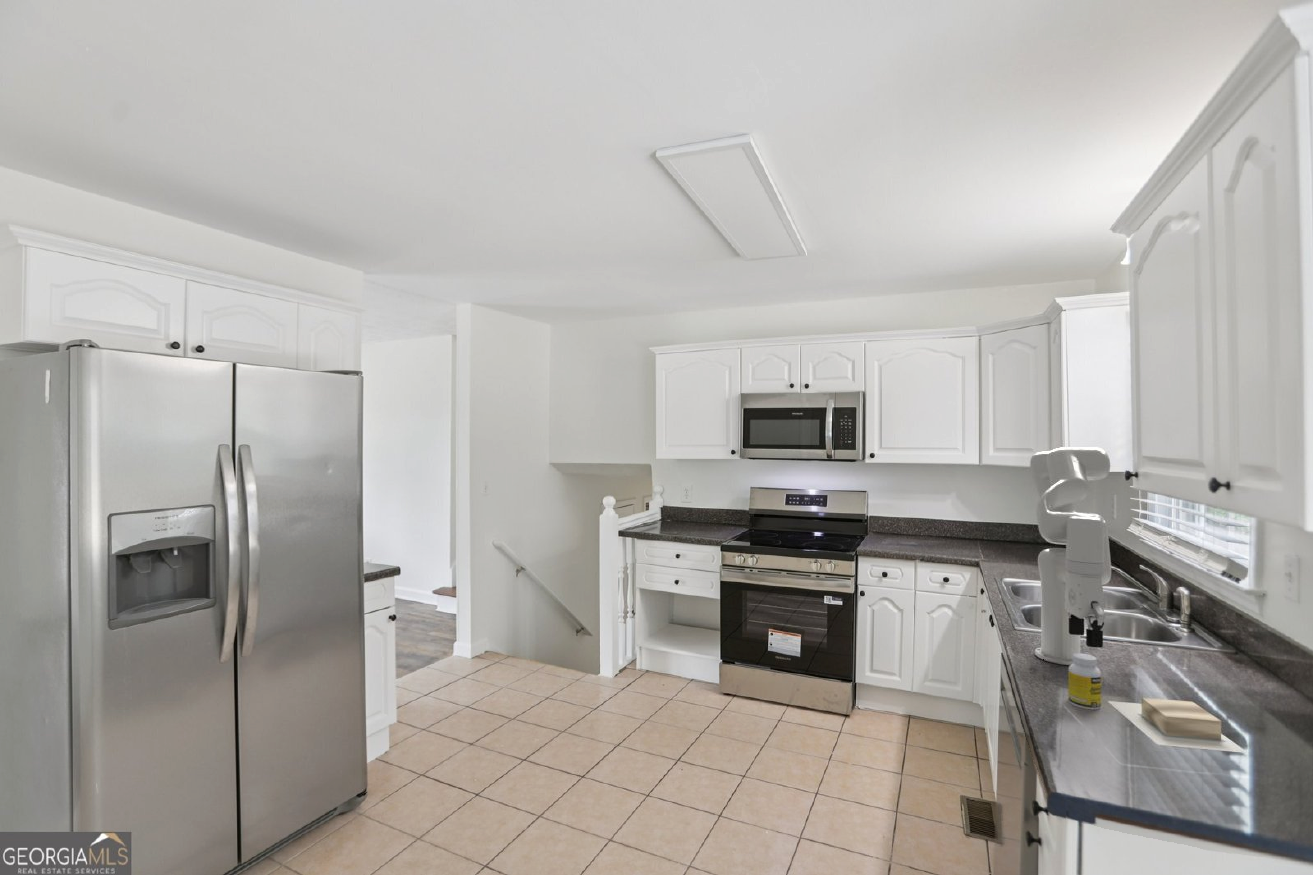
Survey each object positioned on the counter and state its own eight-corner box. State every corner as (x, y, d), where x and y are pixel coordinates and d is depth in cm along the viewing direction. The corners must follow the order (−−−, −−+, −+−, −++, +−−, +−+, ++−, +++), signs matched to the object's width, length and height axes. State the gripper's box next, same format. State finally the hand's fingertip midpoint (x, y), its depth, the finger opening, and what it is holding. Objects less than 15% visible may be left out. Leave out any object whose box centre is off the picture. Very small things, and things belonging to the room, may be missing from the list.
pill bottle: (1086, 712, 147) (1086, 662, 147) (1061, 701, 153) (1061, 653, 153) (1108, 709, 149) (1108, 659, 148) (1082, 698, 155) (1083, 650, 155)
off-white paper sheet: (1107, 702, 152) (1107, 700, 152) (1184, 708, 149) (1184, 707, 149) (1157, 746, 131) (1157, 744, 131) (1248, 754, 127) (1248, 753, 127)
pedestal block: (1141, 715, 145) (1141, 697, 145) (1192, 719, 142) (1192, 701, 142) (1166, 735, 135) (1166, 716, 135) (1221, 740, 133) (1221, 721, 133)
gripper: (1053, 561, 160) (1053, 629, 160) (1083, 574, 143) (1083, 650, 143) (1086, 562, 158) (1086, 631, 158) (1120, 576, 141) (1121, 653, 141)
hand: (1085, 640), depth 150 cm, fingers open, 9 cm apart
